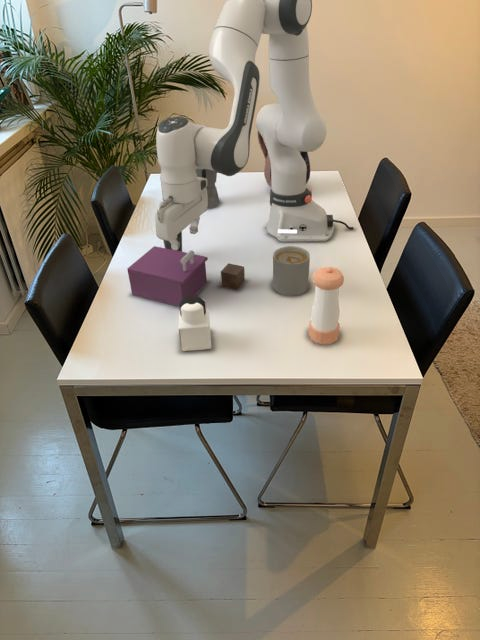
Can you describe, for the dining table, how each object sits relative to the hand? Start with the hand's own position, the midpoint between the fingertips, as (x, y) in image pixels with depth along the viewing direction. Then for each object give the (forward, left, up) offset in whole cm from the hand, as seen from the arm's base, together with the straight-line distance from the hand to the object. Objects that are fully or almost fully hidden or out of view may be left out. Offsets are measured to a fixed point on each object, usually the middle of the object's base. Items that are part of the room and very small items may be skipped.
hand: (185, 240), depth 130 cm
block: (-10, -7, -17) cm, 21 cm away
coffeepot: (+14, -58, -17) cm, 62 cm away
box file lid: (+6, -1, -9) cm, 11 cm away
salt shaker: (-38, +11, -17) cm, 43 cm away
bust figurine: (-8, +20, -17) cm, 27 cm away
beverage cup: (+12, -18, -17) cm, 28 cm away
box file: (+7, -1, -17) cm, 18 cm away
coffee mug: (-26, -11, -17) cm, 33 cm away
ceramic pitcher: (-11, -77, -17) cm, 80 cm away
